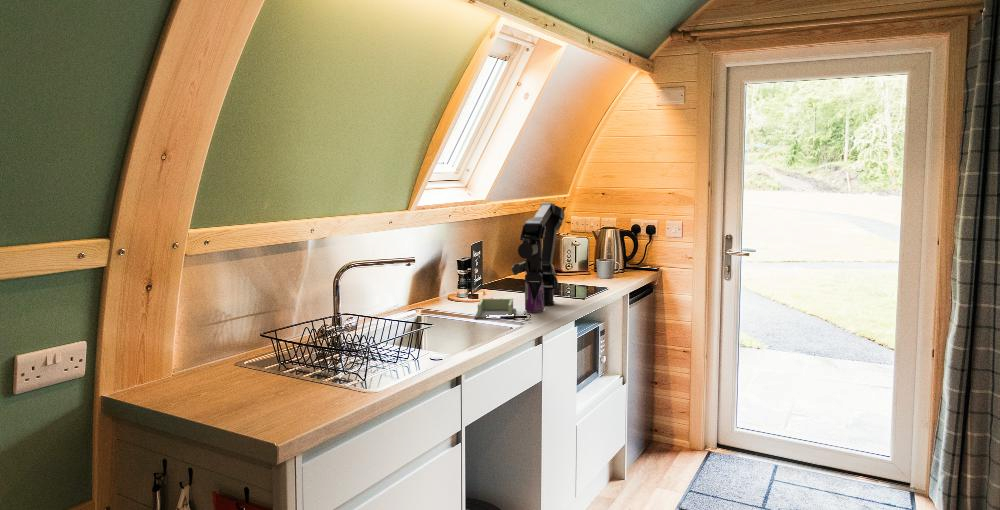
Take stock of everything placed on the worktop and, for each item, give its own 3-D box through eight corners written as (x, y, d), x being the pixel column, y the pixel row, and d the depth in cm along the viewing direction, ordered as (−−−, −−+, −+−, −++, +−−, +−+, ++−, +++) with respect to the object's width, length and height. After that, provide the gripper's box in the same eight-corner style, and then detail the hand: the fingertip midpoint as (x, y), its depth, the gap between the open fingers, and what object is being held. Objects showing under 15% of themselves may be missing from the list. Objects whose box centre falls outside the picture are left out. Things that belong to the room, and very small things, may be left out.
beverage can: (541, 313, 286) (540, 281, 285) (522, 312, 289) (522, 280, 287) (546, 310, 293) (546, 278, 291) (528, 309, 295) (528, 277, 294)
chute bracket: (479, 310, 294) (478, 297, 293) (516, 310, 293) (515, 297, 292) (474, 319, 279) (474, 305, 279) (513, 319, 278) (513, 306, 277)
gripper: (513, 251, 298) (514, 291, 300) (510, 258, 279) (511, 301, 282) (543, 251, 297) (543, 291, 299) (541, 258, 279) (542, 301, 281)
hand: (534, 296), depth 290 cm, fingers open, 9 cm apart
